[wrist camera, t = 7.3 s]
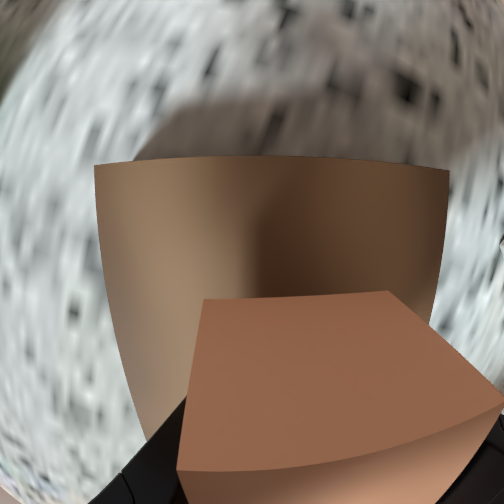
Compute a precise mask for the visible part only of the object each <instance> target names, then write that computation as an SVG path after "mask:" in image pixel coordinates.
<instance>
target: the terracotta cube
mask: <svg viewBox="0 0 504 504" xmlns="http://www.w3.org/2000/svg"><path fill="white" fill-rule="evenodd" d="M503 408H504V396H503V395H502V394H501V393H500V392H499V391H498V390H497V389H496V388H495V387H494V386H493V385H492V384H491V383H490V382H489V381H488V380H487V379H486V378H485V377H484V376H483V375H482V374H481V373H480V372H479V371H478V370H477V369H476V368H475V367H474V366H473V365H472V364H470V363H469V362H468V361H467V360H466V359H465V358H464V357H463V356H462V355H461V354H460V353H459V352H458V351H457V350H455V349H454V348H453V347H452V346H451V345H450V344H449V343H448V342H447V341H446V340H445V339H443V338H442V337H441V336H440V335H439V334H438V333H437V332H436V331H435V330H433V329H432V328H431V327H430V326H429V325H428V324H427V323H425V322H424V321H423V320H422V319H421V318H420V317H419V316H417V315H416V314H415V313H414V312H413V311H412V310H411V309H409V308H408V307H407V306H406V305H405V304H404V303H402V302H401V301H400V300H399V299H398V298H397V297H395V296H394V295H393V294H392V293H391V292H389V291H376V292H362V293H348V294H332V295H315V296H295V297H272V298H241V299H204V300H203V305H202V311H201V316H200V322H199V327H198V333H197V338H196V344H195V350H194V355H193V361H192V367H191V373H190V379H189V386H188V392H187V398H186V405H185V411H184V418H183V425H182V432H181V439H180V446H179V453H178V461H177V468H176V471H177V474H178V476H179V479H180V482H181V485H182V487H183V490H184V493H185V495H186V498H187V500H188V503H189V504H435V503H436V502H437V501H438V500H439V499H440V497H441V496H442V495H443V494H444V493H445V492H446V491H447V489H448V488H449V487H450V486H451V485H452V483H453V482H454V481H455V480H456V478H457V477H458V476H459V475H460V473H461V472H462V471H463V469H464V468H465V467H466V465H467V464H468V463H469V461H470V460H471V459H472V457H473V456H474V454H475V453H476V452H477V450H478V449H479V447H480V446H481V444H482V443H483V441H484V440H485V438H486V437H487V435H488V433H489V432H490V430H491V429H492V427H493V425H494V424H495V422H496V420H497V419H498V417H499V415H500V413H501V412H502V410H503Z"/></svg>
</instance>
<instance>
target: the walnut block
mask: <svg viewBox="0 0 504 504" xmlns="http://www.w3.org/2000/svg"><path fill="white" fill-rule="evenodd" d="M449 172H450V171H449V170H443V169H436V168H429V167H422V166H414V165H406V164H398V163H389V162H379V161H368V160H356V159H342V158H326V157H304V156H203V157H182V158H165V159H152V160H139V161H129V162H119V163H110V164H101V165H94V177H95V197H96V211H97V223H98V233H99V242H100V250H101V258H102V265H103V272H104V279H105V285H106V291H107V296H108V302H109V307H110V312H111V317H112V322H113V327H114V331H115V336H116V340H117V344H118V349H119V353H120V357H121V361H122V364H123V368H124V372H125V376H126V379H127V383H128V386H129V389H130V393H131V396H132V399H133V402H134V406H135V409H136V412H137V415H138V418H139V421H140V424H141V427H142V429H143V432H144V435H145V438H146V440H147V441H148V440H149V439H150V438H151V437H152V435H153V434H154V433H155V432H156V431H157V430H158V428H159V427H160V426H161V425H162V424H163V423H164V421H165V420H166V419H167V418H168V417H169V416H170V414H171V413H172V412H173V411H174V410H175V409H176V407H177V406H178V405H179V404H180V403H181V401H182V400H183V399H184V398H185V397H186V395H187V392H188V386H189V379H190V373H191V367H192V361H193V355H194V350H195V344H196V338H197V333H198V327H199V322H200V316H201V311H202V305H203V300H204V299H241V298H272V297H295V296H315V295H332V294H348V293H362V292H376V291H389V292H391V293H392V294H393V295H394V296H395V297H397V298H398V299H399V300H400V301H401V302H402V303H404V304H405V305H406V306H407V307H408V308H409V309H411V310H412V311H413V312H414V313H415V314H416V315H417V316H419V317H420V318H421V319H422V320H423V321H424V322H425V323H427V324H428V325H429V321H430V316H431V312H432V308H433V303H434V299H435V294H436V289H437V284H438V278H439V272H440V266H441V260H442V253H443V246H444V239H445V230H446V220H447V209H448V195H449Z"/></svg>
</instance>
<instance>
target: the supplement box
mask: <svg viewBox="0 0 504 504" xmlns="http://www.w3.org/2000/svg"><path fill="white" fill-rule="evenodd" d="M500 249H501V252H502V255H503V259H504V240H503V241H502V242H501V243H500Z"/></svg>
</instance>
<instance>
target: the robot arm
mask: <svg viewBox="0 0 504 504" xmlns="http://www.w3.org/2000/svg"><path fill="white" fill-rule="evenodd" d="M186 398H187V395H186V397H185V398H184V399H183V400H182V401H181V403H180V404H179V405H178V406H177V407H176V409H175V410H174V411H173V412H172V413H171V414H170V416H169V417H168V418H167V419H166V420H165V421H164V423H163V424H162V425H161V426H160V427H159V428H158V430H157V431H156V432H155V433H154V434H153V435H152V437H151V438H150V439H149V440H148V441H147V442H146V443H145V445H144V446H143V447H142V448H141V449H140V450H139V451H138V452H137V454H136V455H135V456H134V457H133V458H132V459H131V460H130V461H129V463H128V464H127V465H126V466H125V467H124V468H123V469H122V470H121V472H122V473H118V474H117V476H116V477H115V478H114V479H113V480H112V481H111V482H110V483H109V484H108V485H107V486H106V487H105V488H104V489H103V490H102V491H101V492H100V493H99V494H98V495H97V496H96V497H95V498H94V499H92V500H91V501H90V502H89V503H88V504H189V503H188V500H187V498H186V495H185V493H184V490H183V487H182V485H181V482H180V479H179V476H178V474H177V471H176V468H177V461H178V453H179V446H180V439H181V432H182V425H183V418H184V411H185V405H186ZM435 504H504V415H503V414H501V413H500V415H499V417H498V419H497V420H496V422H495V424H494V425H493V427H492V429H491V430H490V432H489V433H488V435H487V437H486V438H485V440H484V441H483V443H482V444H481V446H480V447H479V449H478V450H477V452H476V453H475V454H474V456H473V457H472V459H471V460H470V461H469V463H468V464H467V465H466V467H465V468H464V469H463V471H462V472H461V473H460V475H459V476H458V477H457V478H456V480H455V481H454V482H453V483H452V485H451V486H450V487H449V488H448V489H447V491H446V492H445V493H444V494H443V495H442V496H441V497H440V499H439V500H438V501H437V502H436V503H435Z"/></svg>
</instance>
